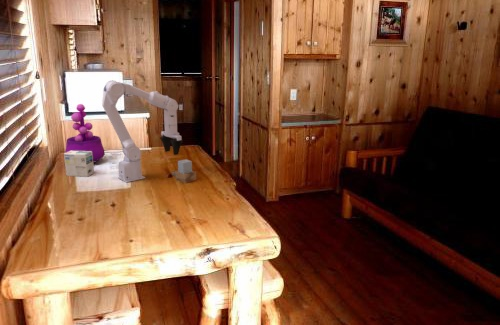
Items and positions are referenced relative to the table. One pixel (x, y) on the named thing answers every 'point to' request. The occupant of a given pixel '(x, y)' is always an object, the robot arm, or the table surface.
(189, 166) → the gray block
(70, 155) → the light bulb box
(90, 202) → the table surface
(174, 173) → the smooth gray stone
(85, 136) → the decorative plant
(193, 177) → the walnut block
